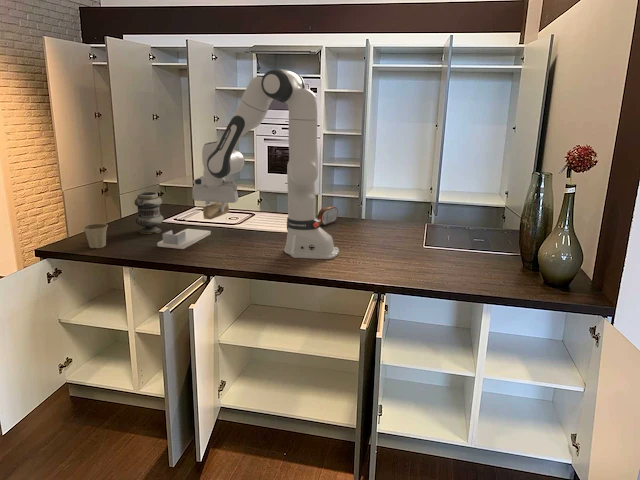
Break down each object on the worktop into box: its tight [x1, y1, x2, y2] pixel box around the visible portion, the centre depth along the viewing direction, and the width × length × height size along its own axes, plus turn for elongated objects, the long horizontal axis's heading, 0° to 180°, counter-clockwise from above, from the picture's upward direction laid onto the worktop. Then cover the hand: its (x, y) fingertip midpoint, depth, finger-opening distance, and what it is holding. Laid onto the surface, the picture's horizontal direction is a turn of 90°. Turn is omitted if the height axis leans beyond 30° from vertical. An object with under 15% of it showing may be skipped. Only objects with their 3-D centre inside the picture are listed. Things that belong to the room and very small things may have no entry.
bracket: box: [156, 228, 212, 250], centre depth 211 cm, size 12×24×6 cm, turn 165°
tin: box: [316, 205, 339, 226], centre depth 243 cm, size 15×3×8 cm, turn 144°
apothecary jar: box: [134, 191, 164, 235], centre depth 221 cm, size 12×12×18 cm
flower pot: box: [82, 223, 109, 249], centre depth 199 cm, size 9×9×9 cm
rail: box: [202, 202, 230, 220], centre depth 210 cm, size 4×14×5 cm, turn 157°
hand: (216, 211), depth 211 cm, fingers closed on rail, 4 cm apart
